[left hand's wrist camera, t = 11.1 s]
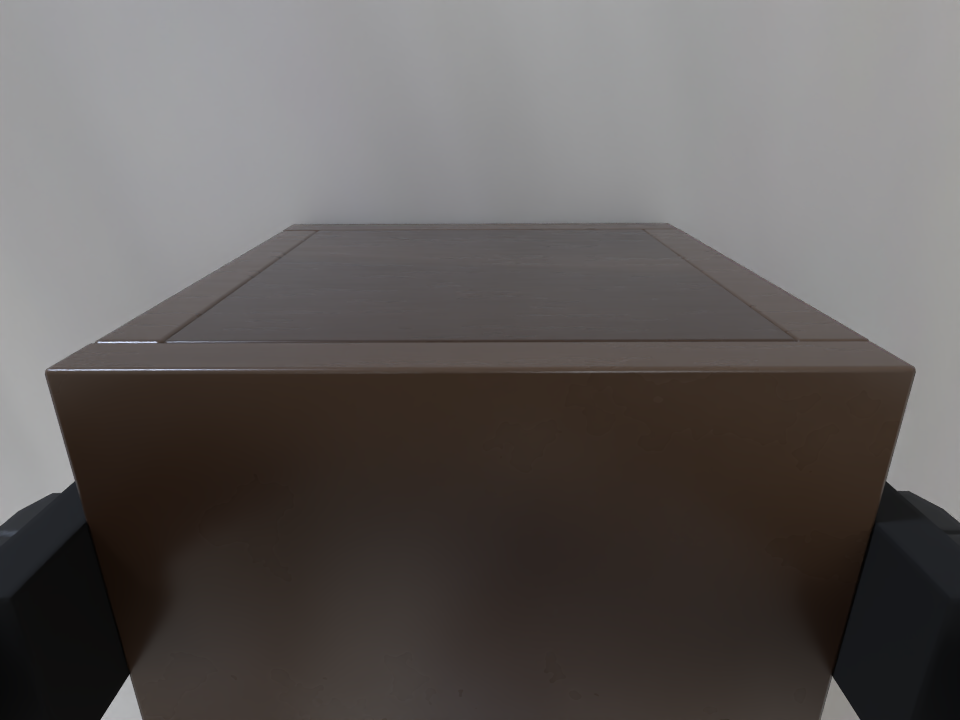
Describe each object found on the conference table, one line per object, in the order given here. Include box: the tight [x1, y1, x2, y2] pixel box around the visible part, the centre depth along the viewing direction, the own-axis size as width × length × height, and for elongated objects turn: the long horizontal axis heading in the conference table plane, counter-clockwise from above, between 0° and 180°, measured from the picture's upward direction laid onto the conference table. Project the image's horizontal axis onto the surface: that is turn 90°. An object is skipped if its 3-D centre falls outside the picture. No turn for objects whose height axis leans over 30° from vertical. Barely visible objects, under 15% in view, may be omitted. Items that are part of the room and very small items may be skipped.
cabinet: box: [45, 223, 916, 720], centre depth 16 cm, size 19×10×10 cm, turn 0°
